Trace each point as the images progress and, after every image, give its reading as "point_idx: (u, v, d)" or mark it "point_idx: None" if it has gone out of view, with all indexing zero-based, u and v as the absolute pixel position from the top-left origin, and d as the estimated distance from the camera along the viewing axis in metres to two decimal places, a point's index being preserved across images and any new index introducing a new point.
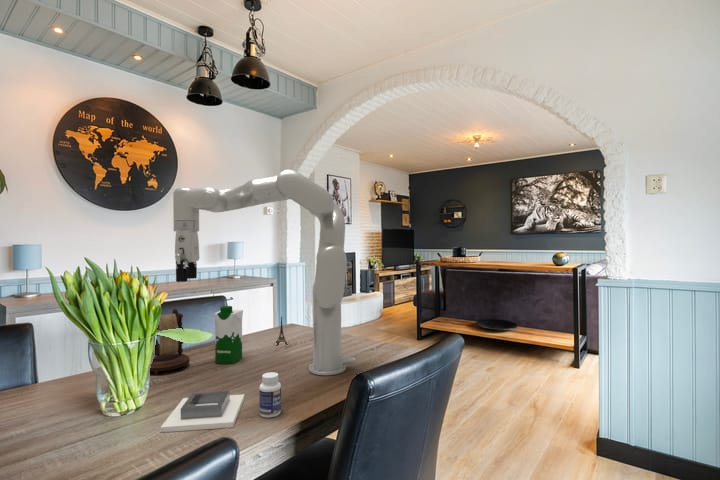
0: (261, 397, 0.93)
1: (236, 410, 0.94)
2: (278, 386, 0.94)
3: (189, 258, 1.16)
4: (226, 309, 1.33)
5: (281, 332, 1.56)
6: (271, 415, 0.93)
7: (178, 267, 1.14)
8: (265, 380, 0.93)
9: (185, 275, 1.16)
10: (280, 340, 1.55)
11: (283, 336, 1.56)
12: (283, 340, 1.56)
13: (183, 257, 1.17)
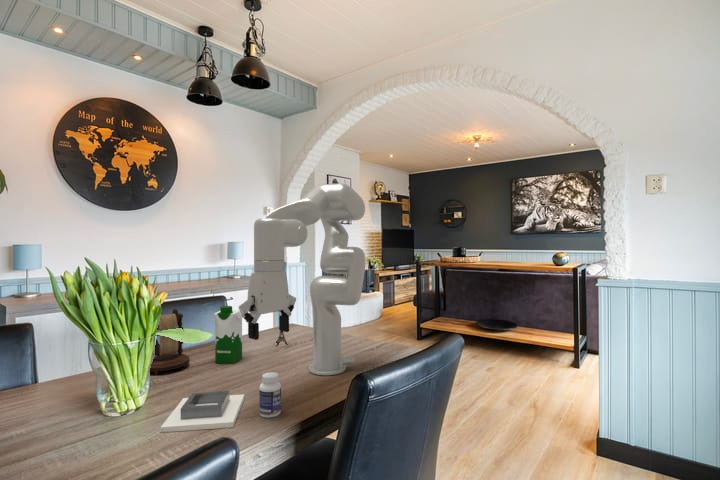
0: (261, 397, 0.93)
1: (236, 410, 0.94)
2: (278, 386, 0.94)
3: None
4: (226, 309, 1.33)
5: (281, 332, 1.57)
6: (271, 415, 0.93)
7: None
8: (265, 380, 0.93)
9: None
10: (280, 340, 1.56)
11: (283, 336, 1.57)
12: (283, 340, 1.56)
13: None
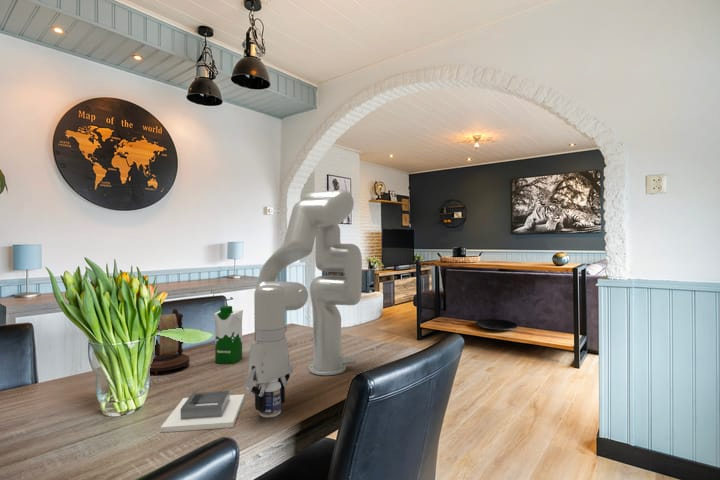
0: None
1: (236, 410, 0.94)
2: (278, 386, 0.94)
3: None
4: (226, 309, 1.33)
5: None
6: (271, 415, 0.93)
7: None
8: None
9: None
10: None
11: None
12: None
13: None
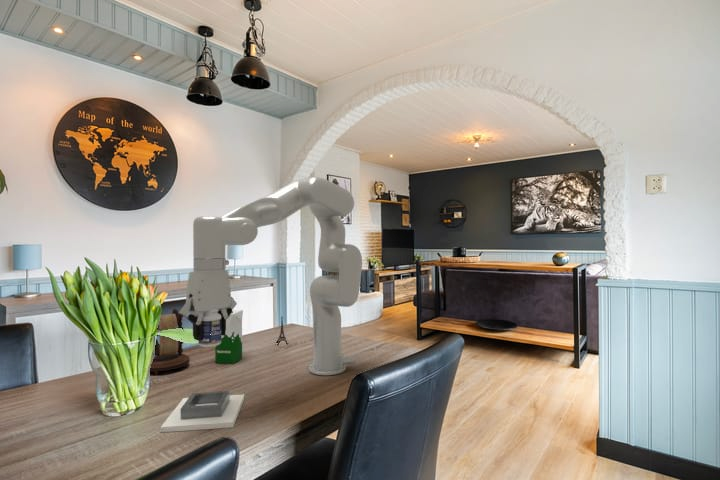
0: None
1: (236, 410, 0.94)
2: (217, 316, 0.94)
3: None
4: None
5: (281, 331, 1.57)
6: (209, 345, 0.92)
7: None
8: None
9: None
10: (281, 339, 1.56)
11: (283, 335, 1.57)
12: (284, 339, 1.57)
13: None
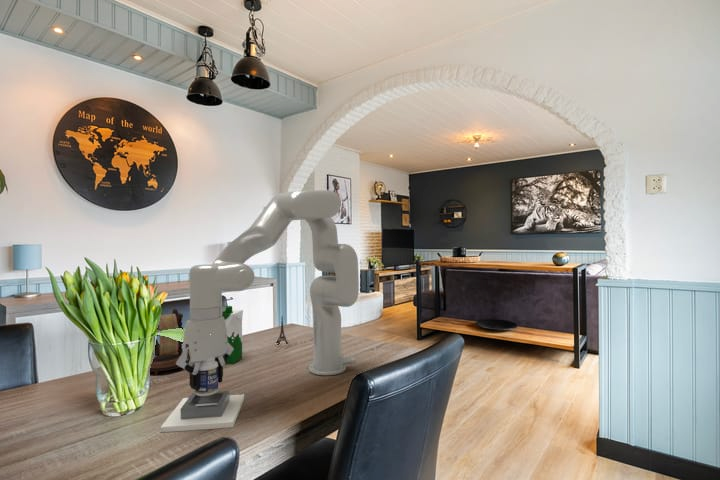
0: None
1: (236, 410, 0.94)
2: (214, 365, 0.94)
3: None
4: (226, 309, 1.33)
5: (282, 331, 1.58)
6: (206, 394, 0.92)
7: None
8: None
9: None
10: (281, 339, 1.57)
11: (284, 335, 1.57)
12: (284, 339, 1.57)
13: None
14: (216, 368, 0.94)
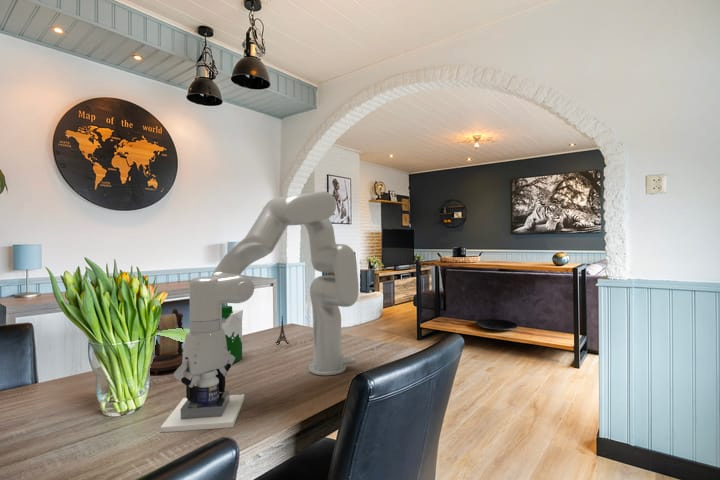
0: (197, 392, 0.93)
1: (236, 410, 0.94)
2: (215, 382, 0.94)
3: None
4: (226, 309, 1.33)
5: (282, 331, 1.58)
6: None
7: None
8: (201, 375, 0.93)
9: None
10: (281, 339, 1.57)
11: (284, 335, 1.58)
12: (284, 339, 1.57)
13: None
14: (217, 385, 0.95)
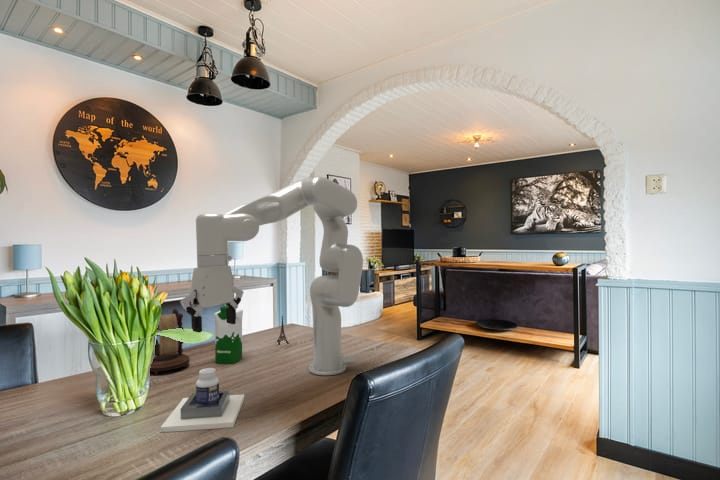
0: (197, 392, 0.93)
1: (236, 410, 0.94)
2: (215, 382, 0.94)
3: None
4: None
5: (282, 331, 1.58)
6: None
7: None
8: (201, 375, 0.93)
9: None
10: (281, 339, 1.57)
11: (284, 335, 1.58)
12: (284, 339, 1.57)
13: None
14: (217, 385, 0.95)
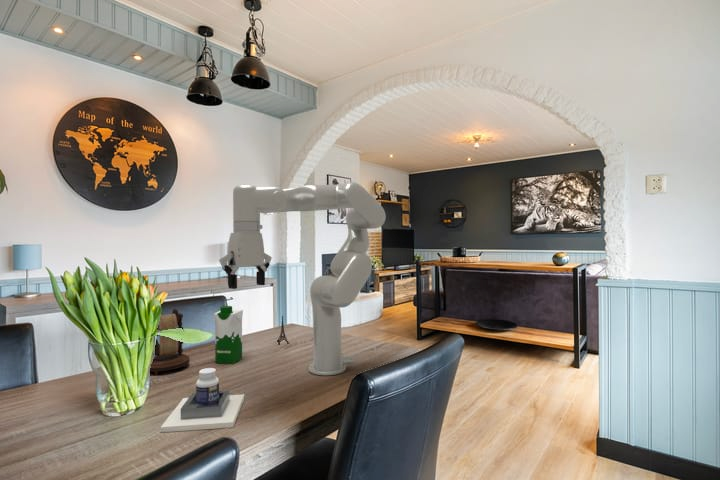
0: (197, 392, 0.93)
1: (236, 410, 0.94)
2: (215, 382, 0.94)
3: None
4: (226, 309, 1.33)
5: (282, 331, 1.58)
6: None
7: None
8: (201, 375, 0.93)
9: None
10: (281, 339, 1.57)
11: (284, 335, 1.58)
12: (284, 339, 1.58)
13: None
14: (217, 385, 0.95)
